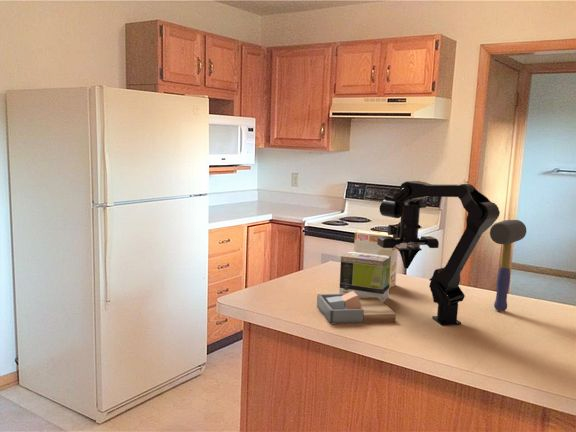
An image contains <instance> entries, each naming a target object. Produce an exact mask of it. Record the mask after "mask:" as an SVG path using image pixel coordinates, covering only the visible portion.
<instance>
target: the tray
mask: <svg viewBox="0 0 576 432" xmlns="http://www.w3.org/2000/svg"><path fill="white" fill-rule="evenodd" d="M343 295H345V294H339V293H323V294H322V293H318V294H317V297H316V299H317V300H316V308H318V310H319V311H320V312H321V314H322V315H323V316H324V318H325V319H326V320H327V322H328V323H329V324H330V325H336V324H337V325H338V324H364V323H363V313H364V310H363V309H341V310H333V309H332V308H331V307H330V306H329V305H328V303H327V302H326V298H329V297H336V296H343Z"/></svg>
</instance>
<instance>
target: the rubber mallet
mask: <svg viewBox="0 0 576 432" xmlns="http://www.w3.org/2000/svg"><path fill="white" fill-rule="evenodd" d="M526 234H527V227H526V224H525V223H524V222H523V221H521V220H520V219H506V220H501V221H498V222H496V223H495V222H494V223H493V224H492V226H491V227H490V228H489V236H490V239H491V240H492V241H493V242H494V243H496V244H498V245H502V251H501V259H500V260H501V262H500V266H499V269H498V273H497V278H496V296H495V300H494V303H493V306H494V307H493V308H494V309H495V311H497V312H501V313H502V312H505V311H506V310H507V309H508V302H507V301H508V291H509V286H510V277H511V276H510V275H511V273H510V272H511V271H510V264H511V252H512V244H513V243H516V242H519V241H521V240H523V239H524V238H525V236H526Z"/></svg>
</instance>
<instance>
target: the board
mask: <svg viewBox="0 0 576 432" xmlns="http://www.w3.org/2000/svg"><path fill="white" fill-rule="evenodd" d="M359 301H360V303H361V306H362V307H360V308H358V309H363V310H364V313H363V323H362V324H367V323H396V321H397V320H396V319H397V318H396V317H397V314H396V312H394V311H393V310H392V309H391V308H390V307H389V306H388V305H387V304H385V303H384V302H382V301H381V300H380V299H378V298H359Z"/></svg>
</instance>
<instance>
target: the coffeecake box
mask: <svg viewBox="0 0 576 432" xmlns="http://www.w3.org/2000/svg"><path fill="white" fill-rule="evenodd" d="M380 236H390V237H392V238H393V235H388V232H387V231H386V232H385V231H378V230H369V229H359V230H356V231H354V242H353V243H354V247H353V252H359V253H368V254H377V255H386V256H391V263H390V282H389V289H391V288H393V287H395V286H396V283H397V271H398V270H397V268H398V267H397V266H398V254H399V250H398V249H397V248H395V247H394V248H383V247H381V246H379V245H378V244H377V242H378V238H379V237H380ZM396 239H399V238H396Z"/></svg>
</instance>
